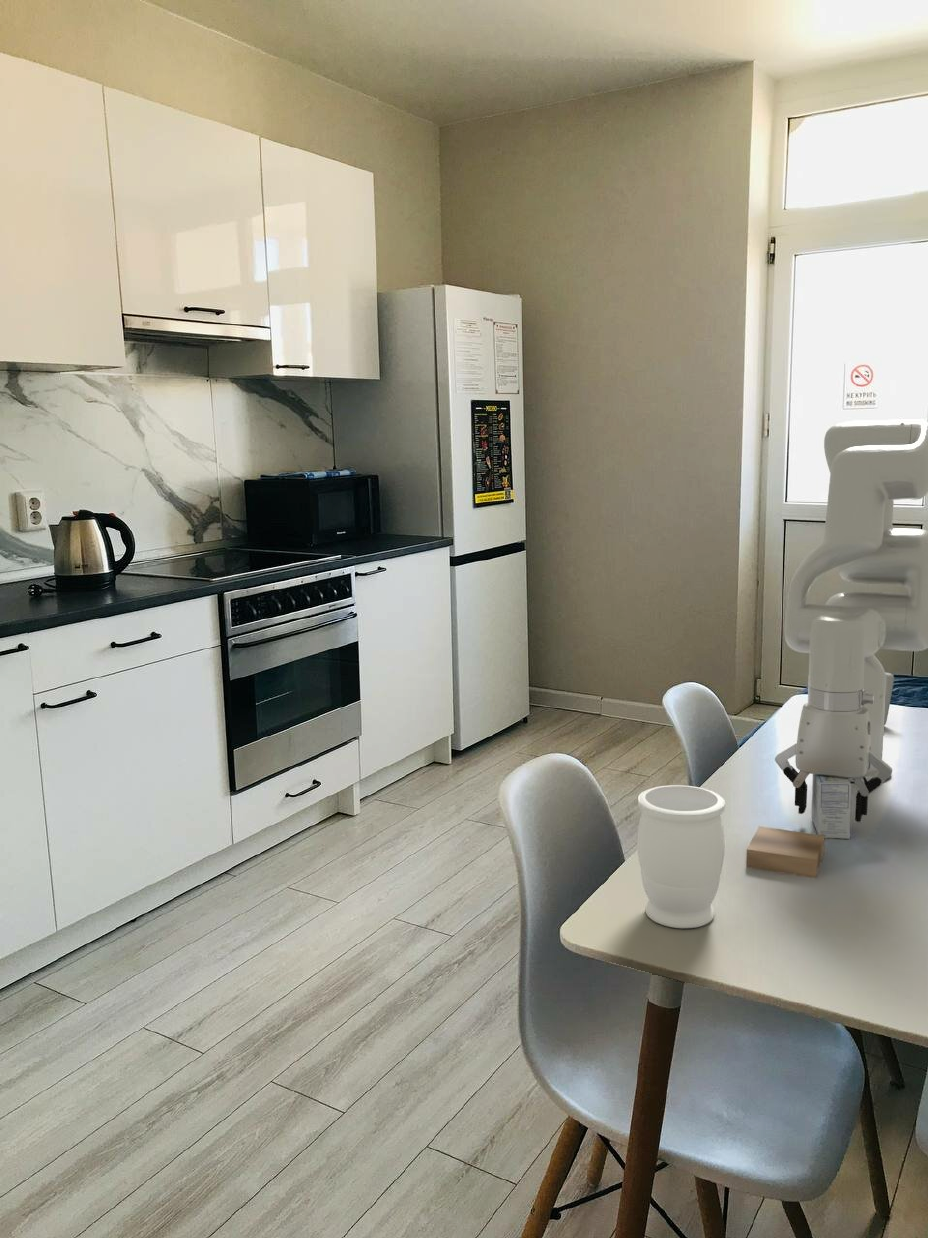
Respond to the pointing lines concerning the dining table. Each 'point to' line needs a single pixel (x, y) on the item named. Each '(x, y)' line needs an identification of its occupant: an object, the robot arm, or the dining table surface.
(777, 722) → the dining table surface
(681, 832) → the jar
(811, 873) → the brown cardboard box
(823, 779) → the medicine box
